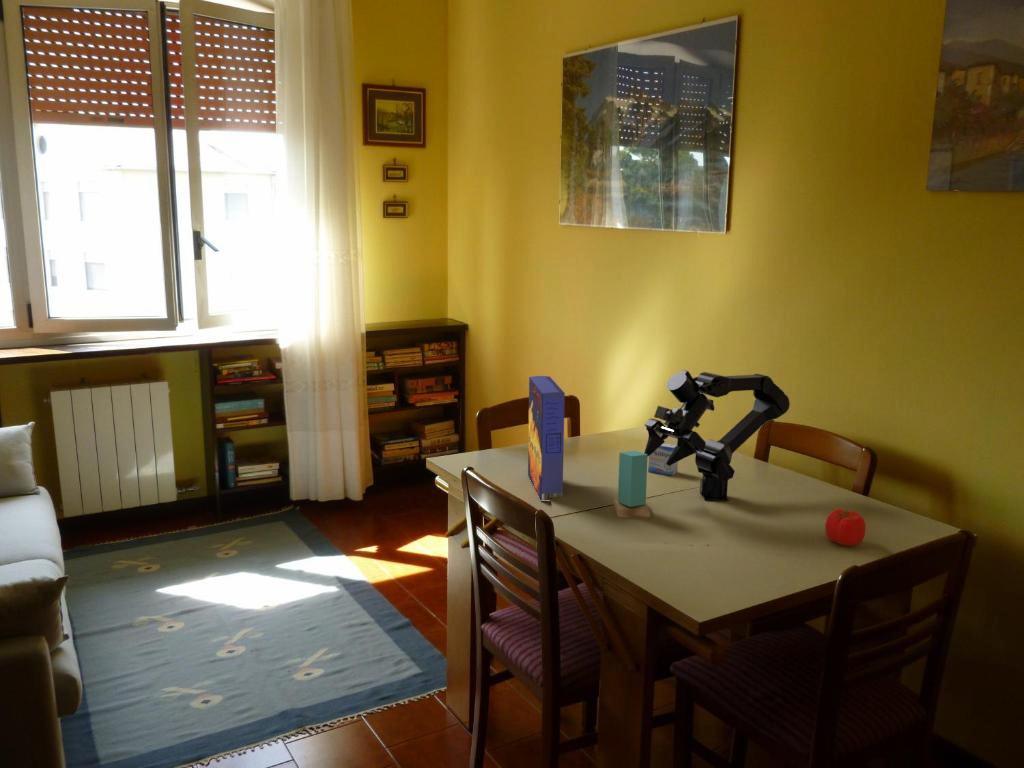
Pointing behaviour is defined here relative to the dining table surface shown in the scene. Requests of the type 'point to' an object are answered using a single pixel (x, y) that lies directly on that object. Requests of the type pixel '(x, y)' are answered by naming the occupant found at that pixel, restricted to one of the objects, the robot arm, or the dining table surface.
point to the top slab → (631, 510)
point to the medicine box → (662, 460)
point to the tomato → (845, 527)
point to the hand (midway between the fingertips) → (656, 460)
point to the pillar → (632, 478)
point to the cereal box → (546, 437)
